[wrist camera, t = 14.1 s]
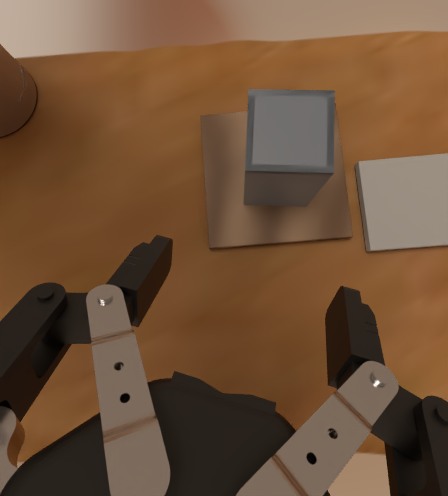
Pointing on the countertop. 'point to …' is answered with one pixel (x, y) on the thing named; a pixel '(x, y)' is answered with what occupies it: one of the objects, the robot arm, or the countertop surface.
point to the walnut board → (264, 216)
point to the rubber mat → (404, 202)
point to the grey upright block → (288, 146)
